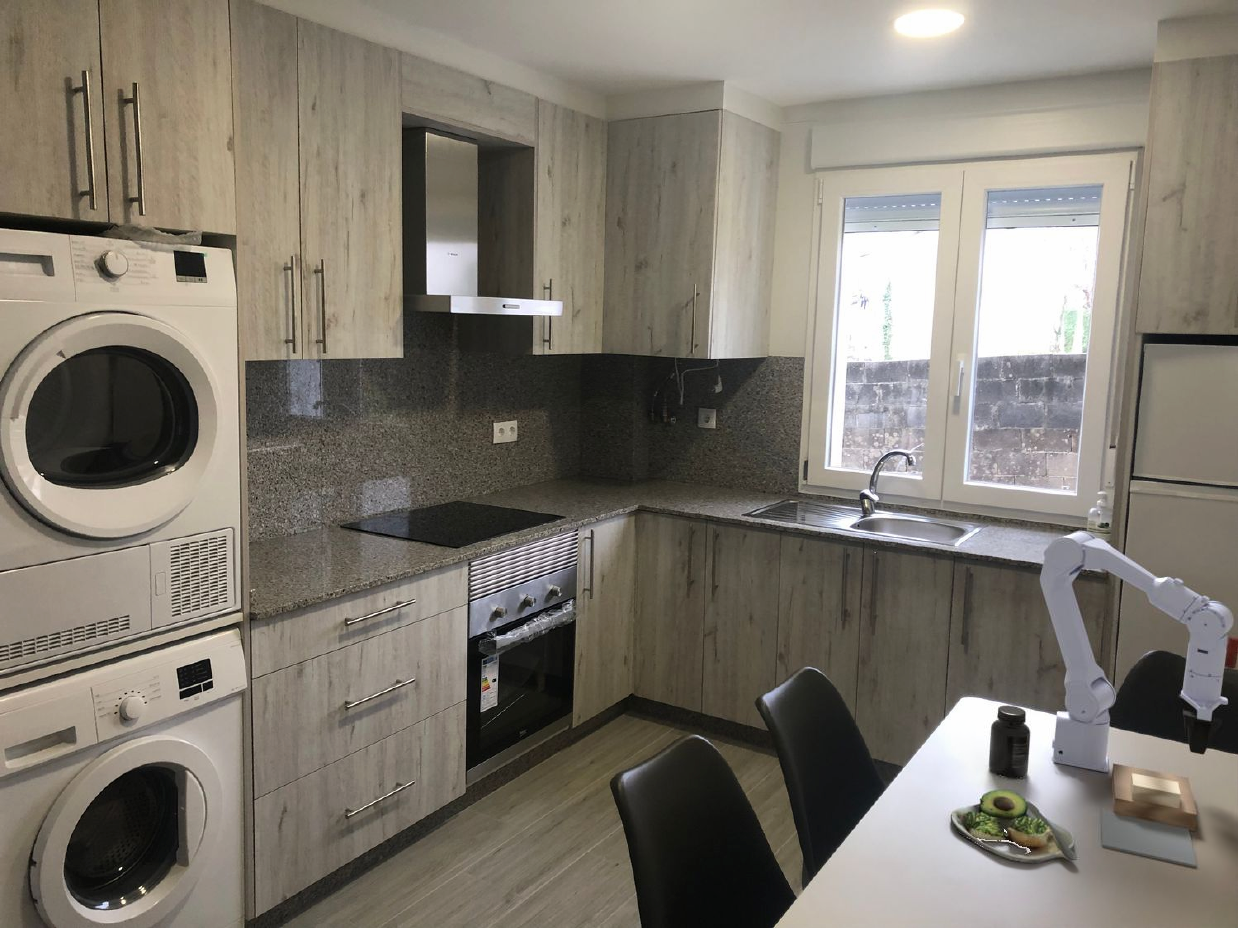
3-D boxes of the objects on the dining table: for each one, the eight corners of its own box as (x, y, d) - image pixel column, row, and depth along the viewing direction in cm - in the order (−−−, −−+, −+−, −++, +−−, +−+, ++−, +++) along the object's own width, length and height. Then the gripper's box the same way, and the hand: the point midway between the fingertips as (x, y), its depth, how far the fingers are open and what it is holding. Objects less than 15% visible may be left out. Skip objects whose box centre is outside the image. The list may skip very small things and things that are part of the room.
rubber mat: (1102, 846, 153) (1102, 844, 153) (1100, 812, 164) (1101, 810, 164) (1196, 867, 147) (1196, 865, 147) (1188, 830, 158) (1188, 828, 158)
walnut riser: (1113, 814, 163) (1115, 797, 163) (1111, 778, 177) (1113, 763, 176) (1195, 831, 158) (1197, 814, 158) (1186, 793, 172) (1188, 777, 171)
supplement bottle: (1026, 766, 181) (1031, 706, 179) (1028, 782, 174) (1034, 719, 173) (987, 760, 183) (992, 700, 181) (988, 775, 177) (993, 713, 175)
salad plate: (1111, 858, 150) (1113, 831, 149) (1028, 883, 143) (1030, 854, 142) (1013, 802, 167) (1015, 777, 167) (935, 822, 160) (937, 796, 159)
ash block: (1131, 798, 163) (1133, 784, 162) (1130, 786, 167) (1131, 773, 167) (1179, 808, 160) (1180, 794, 159) (1176, 795, 164) (1178, 781, 164)
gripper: (1236, 689, 160) (1226, 765, 162) (1225, 662, 173) (1216, 733, 175) (1187, 681, 163) (1178, 756, 165) (1180, 655, 176) (1171, 725, 178)
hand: (1194, 744), depth 170 cm, fingers open, 7 cm apart
